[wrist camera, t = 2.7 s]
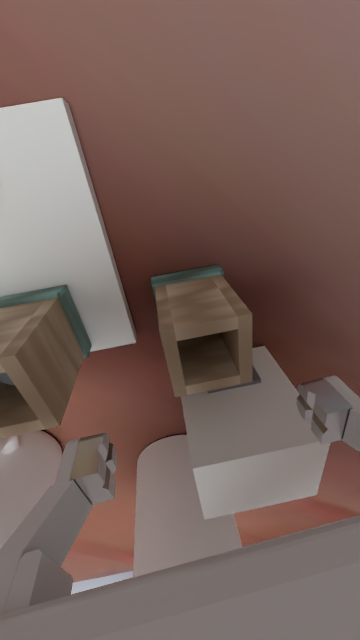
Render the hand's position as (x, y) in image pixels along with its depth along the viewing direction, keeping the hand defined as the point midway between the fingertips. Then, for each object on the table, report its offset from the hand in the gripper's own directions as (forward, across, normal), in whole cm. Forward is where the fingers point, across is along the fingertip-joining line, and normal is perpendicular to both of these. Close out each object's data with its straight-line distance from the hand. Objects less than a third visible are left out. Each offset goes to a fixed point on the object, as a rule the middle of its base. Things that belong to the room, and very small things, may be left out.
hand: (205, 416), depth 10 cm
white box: (+10, -3, +8) cm, 13 cm away
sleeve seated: (+9, +9, -2) cm, 13 cm away
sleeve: (+10, -1, -1) cm, 10 cm away
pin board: (+10, +9, -6) cm, 15 cm away
